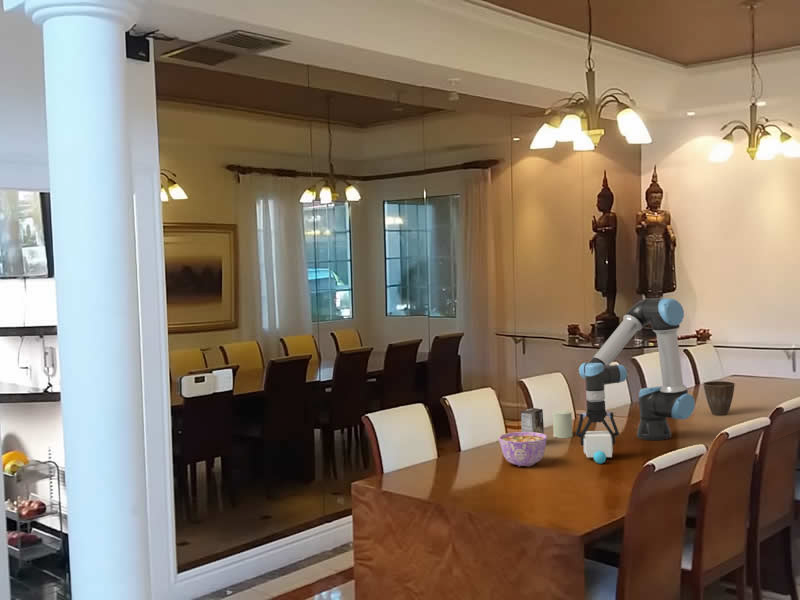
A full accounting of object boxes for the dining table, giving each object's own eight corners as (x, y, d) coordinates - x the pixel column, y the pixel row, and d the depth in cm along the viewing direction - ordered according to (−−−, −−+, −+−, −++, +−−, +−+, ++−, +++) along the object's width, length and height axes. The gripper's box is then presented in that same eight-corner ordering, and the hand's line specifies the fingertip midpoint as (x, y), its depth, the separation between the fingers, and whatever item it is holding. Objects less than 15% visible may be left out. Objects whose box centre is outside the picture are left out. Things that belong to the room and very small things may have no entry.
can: (573, 438, 380) (571, 412, 379) (553, 438, 382) (551, 413, 381) (572, 433, 389) (571, 409, 388) (553, 434, 391) (552, 409, 390)
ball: (605, 449, 328) (606, 461, 326) (605, 453, 333) (606, 465, 330) (593, 449, 330) (593, 461, 327) (593, 453, 334) (593, 465, 331)
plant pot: (738, 412, 417) (737, 381, 416) (732, 417, 404) (731, 386, 403) (708, 411, 425) (706, 380, 424) (701, 416, 412) (700, 385, 411)
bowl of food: (518, 473, 322) (517, 444, 322) (490, 463, 340) (489, 436, 340) (558, 464, 332) (556, 437, 331) (529, 456, 349) (527, 429, 349)
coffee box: (533, 441, 376) (531, 407, 375) (545, 443, 372) (543, 408, 371) (521, 445, 370) (519, 410, 369) (533, 447, 365) (531, 412, 364)
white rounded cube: (609, 451, 343) (608, 430, 343) (612, 457, 333) (611, 435, 333) (585, 451, 345) (584, 431, 344) (586, 457, 335) (585, 436, 334)
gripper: (568, 402, 336) (571, 455, 337) (624, 400, 332) (627, 454, 333) (567, 399, 343) (570, 450, 344) (622, 397, 340) (625, 449, 341)
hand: (598, 452), depth 339 cm, fingers closed on white rounded cube, 10 cm apart
